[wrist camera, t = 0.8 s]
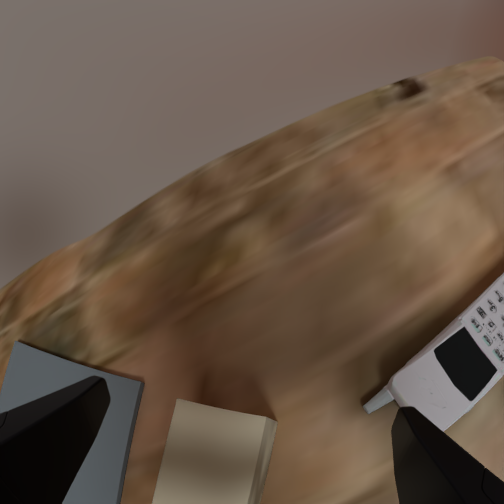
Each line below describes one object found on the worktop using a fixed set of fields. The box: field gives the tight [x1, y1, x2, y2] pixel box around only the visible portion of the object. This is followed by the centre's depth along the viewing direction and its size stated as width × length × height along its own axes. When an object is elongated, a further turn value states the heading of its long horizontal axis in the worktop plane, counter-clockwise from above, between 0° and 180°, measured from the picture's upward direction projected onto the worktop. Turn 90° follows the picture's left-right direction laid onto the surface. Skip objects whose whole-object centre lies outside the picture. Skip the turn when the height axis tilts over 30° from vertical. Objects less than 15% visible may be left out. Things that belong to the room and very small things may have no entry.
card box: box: [152, 398, 278, 504], centre depth 17 cm, size 8×6×5 cm
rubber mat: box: [0, 341, 144, 504], centre depth 21 cm, size 18×18×1 cm
